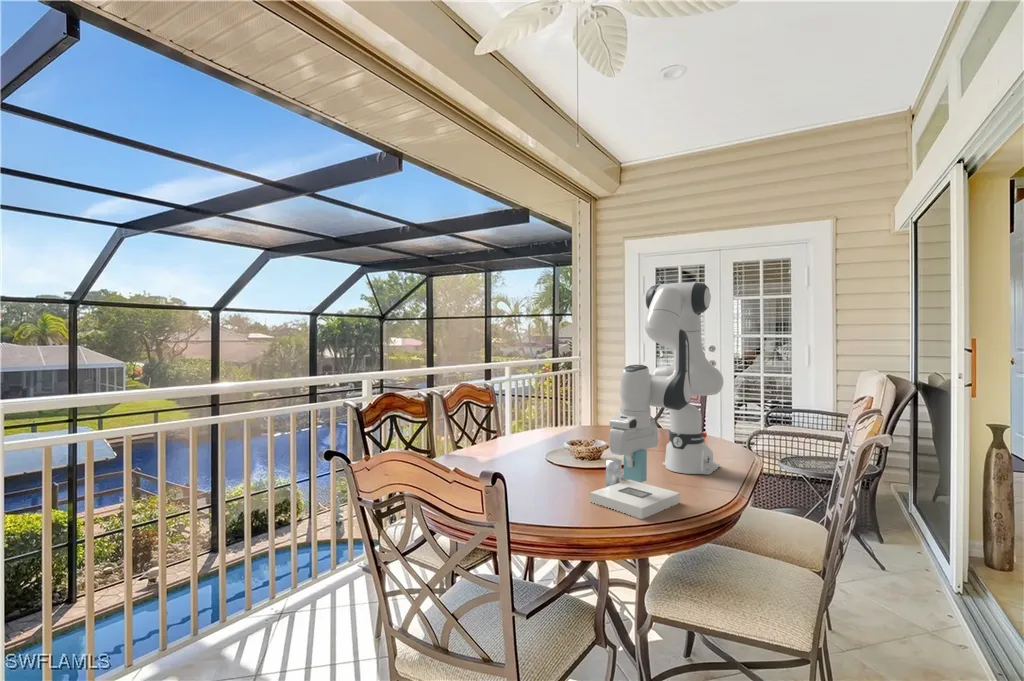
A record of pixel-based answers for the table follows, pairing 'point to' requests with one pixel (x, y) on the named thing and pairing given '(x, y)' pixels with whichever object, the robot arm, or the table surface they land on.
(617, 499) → the socket plate
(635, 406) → the robot arm
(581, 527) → the table surface
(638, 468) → the flat bar
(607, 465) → the round peg
